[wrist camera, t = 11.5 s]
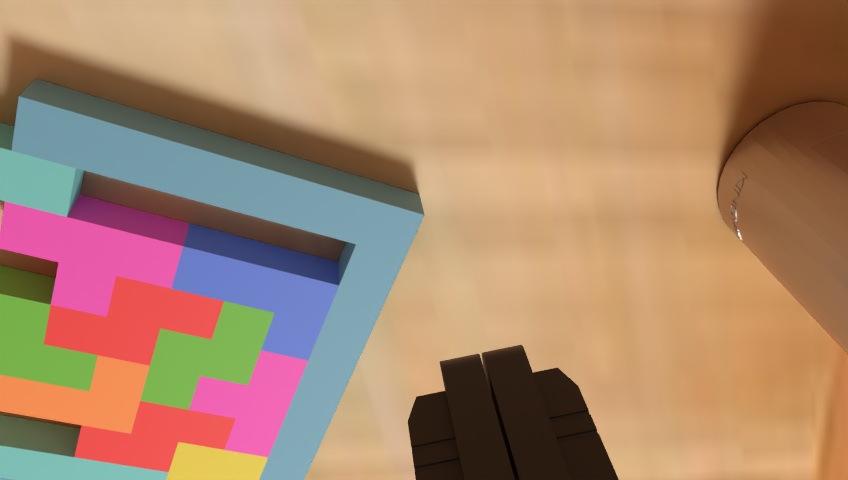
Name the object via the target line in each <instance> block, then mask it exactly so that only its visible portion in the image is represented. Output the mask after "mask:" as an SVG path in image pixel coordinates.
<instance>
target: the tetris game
mask: <svg viewBox="0 0 848 480" xmlns="http://www.w3.org/2000/svg"><path fill="white" fill-rule="evenodd" d="M84 171H88V172H92V173H95V174H99V175H103V176H106V177H110V178H114V179H117V180H121V181H125V182H128V183H132V184H136V185H139V186H143V187H147V188H150V189H154V190H158V191H162V192H165V193H169V194H173V195H176V196H180V197H184V198H187V199H191V200H195V201H198V202H202V203H206V204H209V205H213V206H217V207H220V208H224V209H228V210H231V211H235V212H239V213H242V214H246V215H250V216H254V217H257V218H261V219H265V220H268V221H272V222H276V223H279V224H283V225H287V226H290V227H294V228H298V229H301V230H305V231H309V232H312V233H316V234H320V235H323V236H327V237H331V238H334V239H338V240H342V241H346V244H345V247H344V249H343V252H342V254H341V256H340V259H339V261H338V262H335V261H331V260H327V259H324V258H320V257H316V256H312V255H308V254H305V253H301V252H297V251H293V250H289V249H285V248H282V247H278V246H274V245H270V244H266V243H263V242H259V241H255V240H251V239H247V238H243V237H240V236H236V235H232V234H228V233H224V232H221V231H217V230H213V229H209V228H205V227H201V226H198V225H194V224H190V223H186V222H182V221H179V220H175V219H171V218H167V217H163V216H159V215H156V214H152V213H148V212H144V211H140V210H137V209H133V208H129V207H125V206H121V205H117V204H114V203H110V202H106V201H102V200H98V199H95V198H91V197H87V196H83V195H80V192H81V186H82V181H83V176H84ZM0 200H1V201H5V202H4V210H3V217H2V224H1V232H0V249H3V250H8V251H12V252H16V253H21V254H25V255H29V256H33V257H38V258H42V259H46V260H50V261H55V262H59V263H58V268H57V274H56V278H54V277H50V276H45V275H41V274H37V273H32V272H28V271H23V270H19V269H15V268H10V267H6V266H1V265H0V411H2V412H7V413H13V414H19V415H25V416H31V417H36V418H42V419H48V420H54V421H60V422H65V423H71V424H77V425H82V426H81V428H75V427H69V426H63V425H57V424H51V423H46V422H40V421H34V420H28V419H22V418H16V417H10V416H5V415H0V480H304V479H305V477H306V474H307V472H308V470H309V468H310V466H311V463H312V461H313V459H314V457H315V455H316V452H317V450H318V448H319V446H320V444H321V441H322V439H323V437H324V435H325V433H326V430H327V428H328V426H329V424H330V422H331V419H332V417H333V415H334V413H335V411H336V408H337V406H338V404H339V402H340V400H341V397H342V395H343V393H344V391H345V389H346V386H347V384H348V382H349V380H350V378H351V375H352V373H353V371H354V369H355V367H356V364H357V362H358V360H359V358H360V356H361V353H362V351H363V349H364V347H365V345H366V342H367V340H368V338H369V336H370V334H371V331H372V329H373V327H374V325H375V323H376V320H377V318H378V316H379V314H380V312H381V309H382V307H383V305H384V303H385V301H386V298H387V296H388V294H389V292H390V290H391V287H392V285H393V283H394V281H395V279H396V276H397V274H398V272H399V270H400V268H401V265H402V263H403V261H404V259H405V257H406V254H407V252H408V250H409V248H410V246H411V243H412V241H413V239H414V237H415V235H416V232H417V230H418V228H419V226H420V224H421V222H422V219H423V217H424V211H423V207H422V203H421V199H420V195H419V194H417V193H414V192H410V191H407V190H404V189H400V188H397V187H394V186H391V185H387V184H384V183H381V182H377V181H374V180H371V179H367V178H364V177H361V176H357V175H354V174H351V173H347V172H344V171H341V170H337V169H334V168H331V167H328V166H324V165H321V164H318V163H314V162H311V161H308V160H304V159H301V158H298V157H294V156H291V155H288V154H284V153H281V152H278V151H275V150H271V149H268V148H265V147H261V146H258V145H255V144H251V143H248V142H245V141H241V140H238V139H235V138H231V137H228V136H225V135H222V134H218V133H215V132H212V131H208V130H205V129H202V128H198V127H195V126H192V125H188V124H185V123H182V122H178V121H175V120H172V119H169V118H165V117H162V116H159V115H155V114H152V113H149V112H145V111H142V110H139V109H135V108H132V107H129V106H125V105H122V104H119V103H116V102H112V101H109V100H106V99H102V98H99V97H96V96H92V95H89V94H86V93H82V92H79V91H76V90H72V89H69V88H66V87H62V86H59V85H56V84H53V83H49V82H46V81H43V80H39V79H35V80H34V81H33V82H32V83H31V84H30V85H29V86H28V87H27V88H26V89H25V90H24V91H23V92H22V93H21V94H20V95H19V98H18V106H17V113H16V121H15V127H13V126H10V125H6V124H3V123H0Z"/></svg>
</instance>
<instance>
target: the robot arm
mask: <svg viewBox="0 0 848 480" xmlns="http://www.w3.org/2000/svg"><path fill="white" fill-rule="evenodd" d="M718 204H719V209H720V212H721V215H722V218H723V220H724V221H725V222H726V224H727V225H728V226H729V228H730V229H731V230H732V231H733V232H734V233H735V234H736V236H737V237H738V238H739V239H740V240H741V241H742V242H743V243H744V244H745V245H746V246H747V247H748V248H749V249H750V250H751V252H752V253H753V254H754V255H755V256H756V257H757V258H758V259H759V260H760V261H761V262H762V264H763V265H764V266H765V267H766V268H767V269H768V270H769V271H770V272H771V273H772V274H773V275H774V276H775V278H776V279H777V280H778V281H779V282H780V283H781V284H782V285H783V286H784V287H785V288H786V289H787V290H788V291H789V292H790V294H791V295H792V296H793V297H794V298H795V299H796V300H797V301H798V302H799V303H800V304H801V305H802V306H803V307H804V308H805V309H806V311H807V312H808V313H809V314H810V315H811V316H812V317H813V318H814V319H815V320H816V321H817V322H818V323H819V324H820V325H821V327H822V328H823V329H824V330H825V331H826V332H827V333H828V334H829V335H830V336H831V337H832V338H833V339H834V340H835V341H836V342H837V344H838V345H839V346H840V347H841V348H842V349H843V350H844V351H845V352H846V353H847V354H848V107H846V106H845V105H842V104H838V103H834V102H829V101H812V102H807V103H803V104H798V105H794V106H792V107H789V108H787V109H784V110H782V111H779V112H777V113H776V114H774V115H772V116H771V117H769V118H767V119H766V120H764V121H763V122H761V123H760V124H759V125H758V126H756V127H755V128H754V129H753V130H752V131H750V132H749V133H748V134H747V135H746V136H745V137H744V139H743V140H742V141H741V142H740V143H739V144H738V146H737V147H736V148H735V149H734V151H733V153H732V154H731V156H730V157H729V159H728V161H727V162H726V164H725V167H724V170H723V172H722V175H721V177H720V182H719V188H718ZM482 360H483V365H482V361H481V358H480V355H479V354H475V355H470V356H465V357H460V358H455V359H450V360H445V361H440V366H441V371H442V376H443V381H444V387H445V391H442V392H438V393H433V394H428V395H423V396H418V397H416V400H415V402H414V405H413V408H412V411H411V414H410V417H409V419H408V426H409V433H410V440H411V447H412V454H413V462H414V468H415V476H416V480H618V477H617V475H616V473H615V470H614V468H613V466H612V463H611V461H610V459H609V456H608V454H607V452H606V449H605V447H604V445H603V443H602V440H601V438H600V436H599V434H598V433H597V429H596V426H595V424H594V422H593V419H592V417H591V415H590V414H589V411H588V408H587V406H586V403H585V401H584V399H583V396H582V394H581V392H580V389H579V387H578V385H576V384H575V383H574V382H573V381H572V380H571V379H570V378H569V377H567V376H566V375H565V374H564V373H563V372H562V371H561V370H560V369H558V368H554V369H549V370H544V371H539V372H534V373H533V372H532V369H531V367H530V364H529V361H528V358H527V356H526V353H525V350H524V348H523V346H522V345H518V346H513V347H508V348H503V349H498V350H493V351H488V352H484V353H482ZM483 367H484V368H483Z"/></svg>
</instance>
